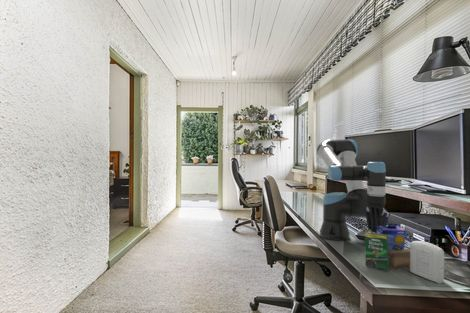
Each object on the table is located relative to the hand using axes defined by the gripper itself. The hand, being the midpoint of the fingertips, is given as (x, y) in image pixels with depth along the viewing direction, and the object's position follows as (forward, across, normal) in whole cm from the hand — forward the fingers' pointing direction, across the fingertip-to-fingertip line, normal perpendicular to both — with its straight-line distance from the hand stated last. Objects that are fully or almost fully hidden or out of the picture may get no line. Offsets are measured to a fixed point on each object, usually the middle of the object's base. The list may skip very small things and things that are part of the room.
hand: (376, 246), depth 119 cm
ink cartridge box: (+2, +7, 0) cm, 7 cm away
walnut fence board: (+2, +17, -1) cm, 17 cm away
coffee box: (+2, +14, -15) cm, 21 cm away
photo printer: (+2, +26, -5) cm, 27 cm away
